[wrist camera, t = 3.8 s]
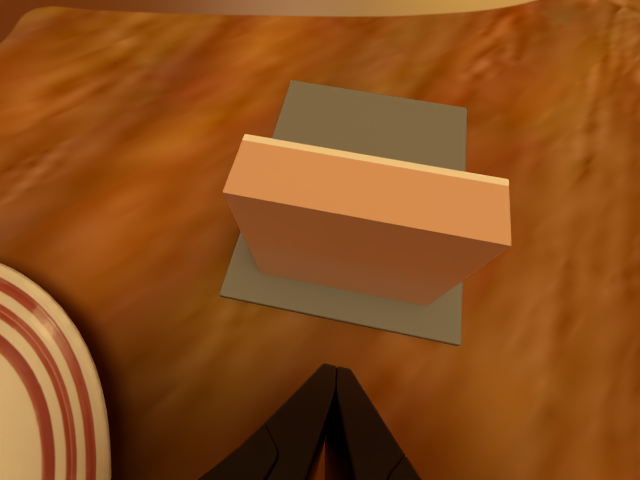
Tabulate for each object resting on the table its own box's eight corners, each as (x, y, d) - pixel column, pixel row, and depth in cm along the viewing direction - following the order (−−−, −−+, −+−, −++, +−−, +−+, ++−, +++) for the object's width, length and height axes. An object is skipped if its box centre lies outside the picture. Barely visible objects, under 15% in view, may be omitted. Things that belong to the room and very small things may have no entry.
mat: (457, 345, 19) (460, 345, 18) (220, 296, 20) (219, 294, 19) (464, 112, 26) (466, 108, 26) (291, 84, 27) (291, 80, 27)
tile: (427, 306, 19) (511, 246, 11) (260, 273, 20) (222, 192, 12) (430, 262, 20) (508, 177, 12) (272, 232, 21) (245, 133, 13)
